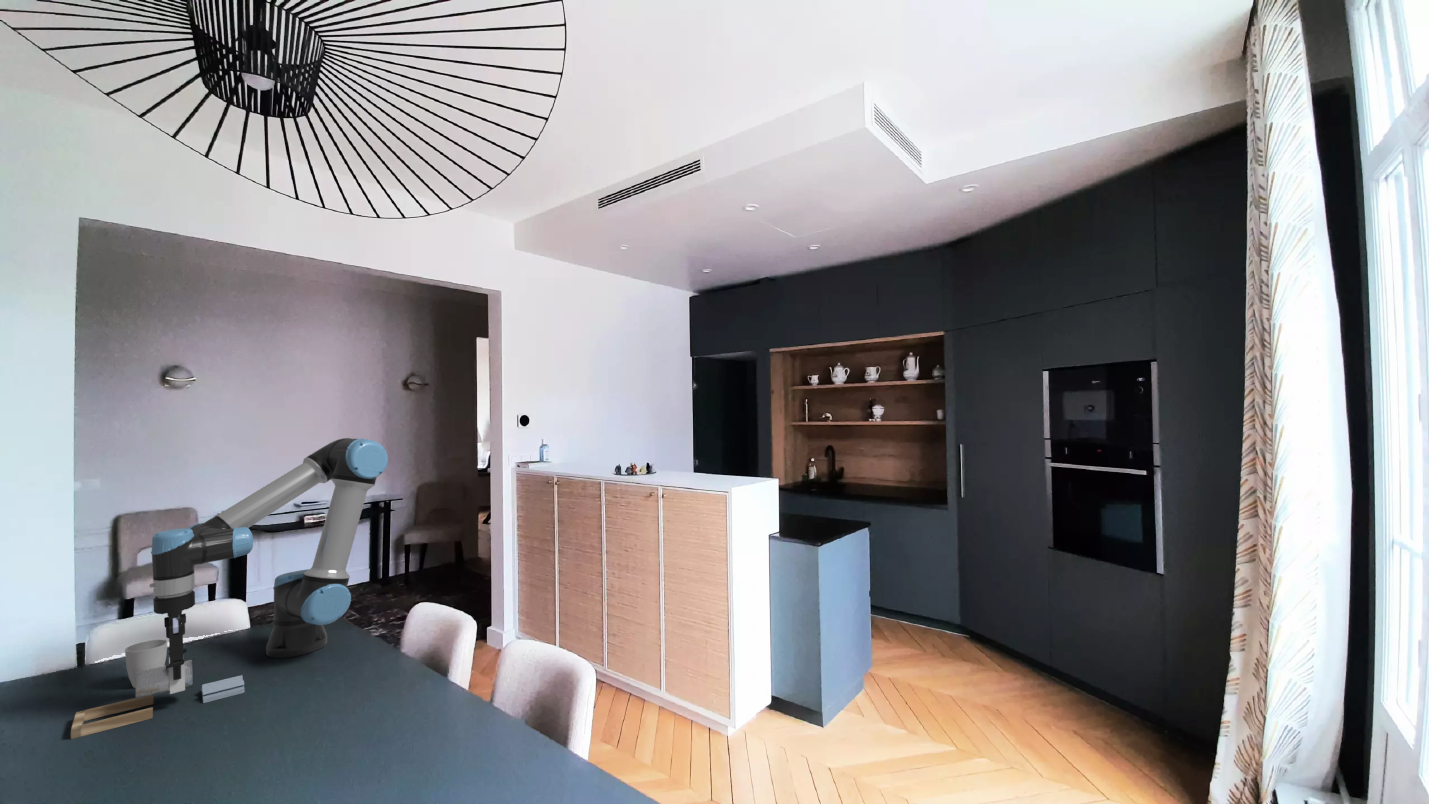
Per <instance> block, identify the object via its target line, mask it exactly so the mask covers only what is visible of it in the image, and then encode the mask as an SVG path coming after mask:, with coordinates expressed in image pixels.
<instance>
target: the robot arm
mask: <svg viewBox="0 0 1429 804" xmlns="http://www.w3.org/2000/svg"><path fill="white" fill-rule="evenodd" d="M387 452H388V451H387V450H386V449H385V447H384V446H383V445H382V444H381V443H380V442H378V441H375V440H372V439H368V438H349V437H347V438H346V437H344V438H340V439H336V440H333V441H332V442H330V443H328V444H326V445H324V446H323V447H321V448H319V449H318V450H316V451H314V452H312V453H311V454H309V455H308V456H306V457H305V458H303V461H302V463H301V464H299V465H298V466H296V467H294V468H293V469H291V470H290V471H288V472H286V473H284V474H283V475H281V476H279V477H278V478H276V479H274V480H273V481H271V482H270V483H268V484H267V485H265V486H263V487H261V488H260V489H258V490H256V491H255V492H253V493H251V494H250V495H248V496H246V497H245V498H243V499H242V500H240V501H237V502H236V503H235V504H233V505H231V506H230V507H228V508H226V509H225V510H223V511H221V512H220V513H218V514H217V515H215V516H214V517H212V518H209V519H208V520H207V521H204V522H199V523H195V524H193V525H190V526H189V527H186V528H184V527H183V528H182V527H181V528H172V529H167V530H163V531H162V530H161V531H158V532H156V533H155V534H153V536H152V540H151V551H150V553H151V562H152V563H151V565H152V582H153V583H149V588H151V589H152V588H153V590H152V591H153V596H155V597H154V598H153V599H152V601H153V612H154V613H155V614H157V615H165V614H166V615H167V616H166V617H163V618H164V619H163V620H164V621H163V623H164V628H165V637H166V638H167V639H168V642H169V643H168V646H169V647H168V656H169V657H168V664H167V665H168V666H166V665H165V666H166V669H167V668H169V677H170V691H169V695H172V694H176V693H179V692H180V693H181V692H184V691H186V687H185V669H184V662H185V661H186V660H185V659H184V658H185V655H184V654H185V653H188V652H187V651H188V650H187V648H184V636H185V634H186V623H187V615H186V613H183V611H186V610H189V609H190V608H192V607H194V606H195V604H196V592H195V590H194V589H195V588H196V583H195V580H196V579H195V577H196V576H195V566H196V565H197V566H198V565H203V564H207V563H212V562H217V561H223V560H227V559H229V560H230V559H236V558H238V557H241V556H245V555H248V554H250V553H251V552H252V550H253V547H254V535H253V533H252V531H251V530H250V527H252V526H254V525H255V524H257V523H259V522H260V521H262V520H264V519H265V518H266V517H268V516H270V515H271V514H273V513H274V512H276V511H277V510H280V509H281V508H282V507H283V506H285V505H287V504H288V503H290V502H291V501H293V500H294V499H296V498H297V497H299V496H301V495H302V494H304V493H306V492H307V491H309V490H310V489H312V488H313V487H316V486H317V485H319V484H320V483H321V484H327V482H329V481H330V480H331V482H332V483H333V484H334V489H333V493H332V497H331V500H330V503H329V507H328V510H327V514H326V517H325V521H324V523H323V528H322V531H321V534H320V539H319V540H318V545H317V548H316V552H315V555H314V560H313V563H312V566H311V568H309V569H302V570H296V571H290V572H286V573H283V574H279V575H278V576H276V578H274V583H273V628H272V630H271V632H270V635H269V637H268V641H267V643H266V647H265V655H266V656H267V657H270V658H274V659H275V658H277V659H280V658H281V659H284V658H285V659H286V658H292V657H298V656H302V655H306V654H309V653H310V654H311V653H313V652H315V651H318V650H320V649H322V648H323V647H325V646H326V645H327V644H328V634H327V632H326V629H325V626H326V625H329V624H332V623H334V622H336V621H337V620H338V619H340V618H342V616H343V615H345V613H346V612H347V610H348V609H349V607H350V605H351V601H352V594H351V592H350V590H349V588H348V584H349V582H350V574H349V573H348V572H347V567H348V563H349V559H350V555H351V551H352V548H353V544H354V540H355V537H356V534H357V529H358V525H359V522H360V518H361V514H362V511H363V507H364V505H365V500H366V496H367V493H368V491H369V490H370V489H372V488H373V487H374V486H376V485H375V484H376V481H377V477H379V476H380V475H382V474H383V473H384V472H385V470H386V469H387V466H388V463H389V455H388V453H387Z"/></svg>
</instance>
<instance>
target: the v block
mask: <svg viewBox="0 0 1429 804" xmlns="http://www.w3.org/2000/svg"><path fill="white" fill-rule="evenodd" d="M245 689H246V688H245V680H244V679H243V674H241V675H237V676H234V677H233V676H232V677H228V678H225V679H220V680H217V681H211V682H208V683H204V684H202V685H201V697H202V703H203V704H206V703H209V702H213V701H216V700H217V701H218V700H220V699H224V698H228V697H232V696H236V695H240V694H244V693H246V692H245Z"/></svg>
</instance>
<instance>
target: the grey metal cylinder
mask: <svg viewBox="0 0 1429 804" xmlns="http://www.w3.org/2000/svg"><path fill="white" fill-rule="evenodd" d="M184 661H185V662H184V669H185V688H186V687H189V686H190V687H191V686H193V682H194V680H193V679H194V678H193V676H194V675H193V660H192V659H188V660H184ZM168 665H169V664H167V665H166V664H165V665H164V666H162V667H158V668H153V669H149V670H145V671H140V672H136V688H135V698H136V699H138V698H142V697H146V696H150V695H153V696H155V695H157V694H158V695H159V694H162V693H165V692H170V677H169V668H167V669H166V666H168Z"/></svg>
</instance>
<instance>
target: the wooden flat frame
mask: <svg viewBox="0 0 1429 804" xmlns="http://www.w3.org/2000/svg"><path fill="white" fill-rule="evenodd" d="M150 705H154V695H150V696H146V697H142V698H138V699H136V697H134V698H129V699H126V700H121V701H117V702H113V703H108V704H105V705H100V706H97V707H91V708H87V709H83V710H80V711H75V715H74V719H73V721H72V725H71V729H70V740H73V739H77V738H81V737H85V736H89V735H92V734H96V733H100V732H104V731H105V732H106V731H108V730H112V729H115V728H120V727H123V726H128V725H131V724H134V723H138V722H139V723H140V722H143V721H147V720H150V719H151V720H152V719H153V718H154V717H153V716H154V707H152V706H151V707H148V708H145V709H140V710H136V711H132V712H128V713H124V714H120V715H117V716H116V715H115V714H118V713H123V712H127V711H130V710H135V709H138V708H143V707H146V706H150ZM111 715H115V716H111ZM106 716H111V717H108V718H105V719H100V718H103V717H106ZM98 718H99V719H100V720H96V721H92V722H91V721H90V722H88V723H85V722H87V721H89V720H94V719H98Z"/></svg>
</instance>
